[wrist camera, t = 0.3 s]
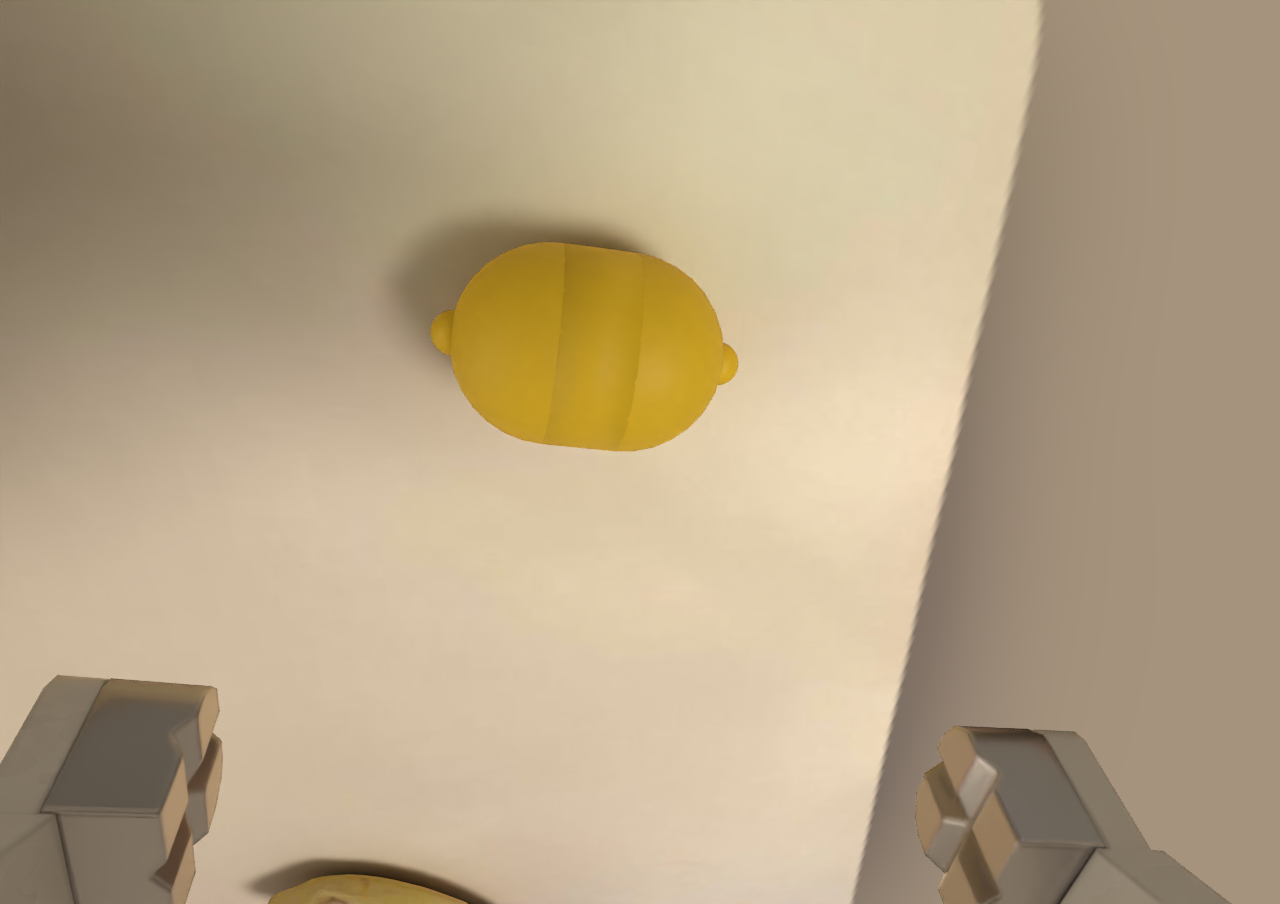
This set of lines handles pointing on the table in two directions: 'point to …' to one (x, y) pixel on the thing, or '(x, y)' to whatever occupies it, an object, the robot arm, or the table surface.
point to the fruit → (360, 892)
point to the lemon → (585, 347)
